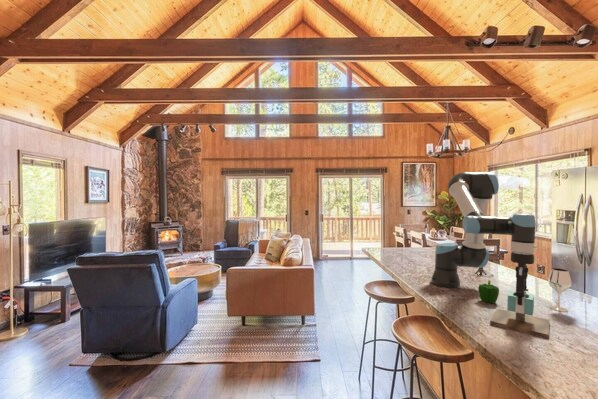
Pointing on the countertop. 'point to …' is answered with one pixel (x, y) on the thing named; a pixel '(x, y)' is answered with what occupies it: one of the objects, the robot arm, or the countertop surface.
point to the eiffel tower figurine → (482, 272)
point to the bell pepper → (488, 292)
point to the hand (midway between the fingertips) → (520, 309)
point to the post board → (521, 322)
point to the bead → (527, 303)
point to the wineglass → (559, 284)
